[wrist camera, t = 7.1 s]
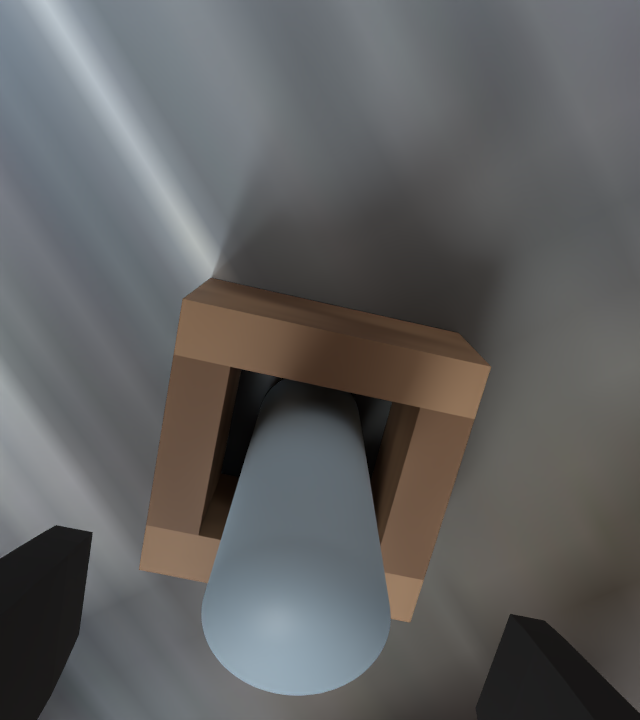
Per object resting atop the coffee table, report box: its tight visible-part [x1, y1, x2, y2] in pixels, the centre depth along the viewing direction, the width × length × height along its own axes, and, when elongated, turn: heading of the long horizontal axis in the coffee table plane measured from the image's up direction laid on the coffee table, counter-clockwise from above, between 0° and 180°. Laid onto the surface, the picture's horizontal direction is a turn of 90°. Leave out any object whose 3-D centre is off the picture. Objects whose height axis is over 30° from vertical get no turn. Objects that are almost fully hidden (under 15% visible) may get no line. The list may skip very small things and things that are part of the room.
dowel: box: [202, 379, 391, 695], centre depth 14 cm, size 3×3×9 cm
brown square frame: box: [139, 278, 491, 622], centre depth 17 cm, size 8×8×4 cm
